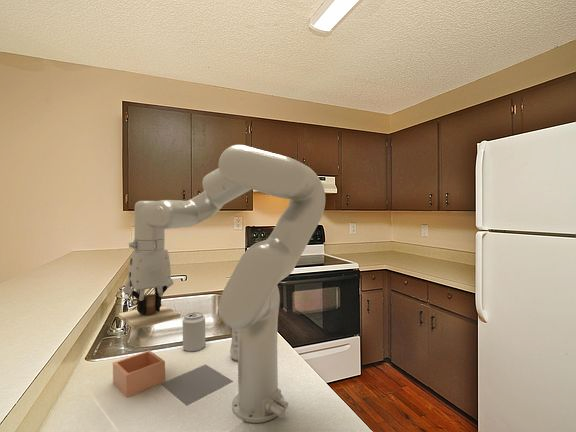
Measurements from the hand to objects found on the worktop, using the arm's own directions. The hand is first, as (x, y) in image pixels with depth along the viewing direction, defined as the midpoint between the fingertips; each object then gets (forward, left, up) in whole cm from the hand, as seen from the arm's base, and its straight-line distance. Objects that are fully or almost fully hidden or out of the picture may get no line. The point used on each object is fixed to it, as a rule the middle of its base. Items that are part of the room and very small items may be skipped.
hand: (149, 311), depth 84 cm
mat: (-10, -8, -20) cm, 24 cm away
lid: (0, 0, -2) cm, 2 cm away
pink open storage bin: (+2, +2, -20) cm, 20 cm away
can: (+10, -19, -20) cm, 30 cm away
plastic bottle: (-8, -25, -20) cm, 33 cm away
